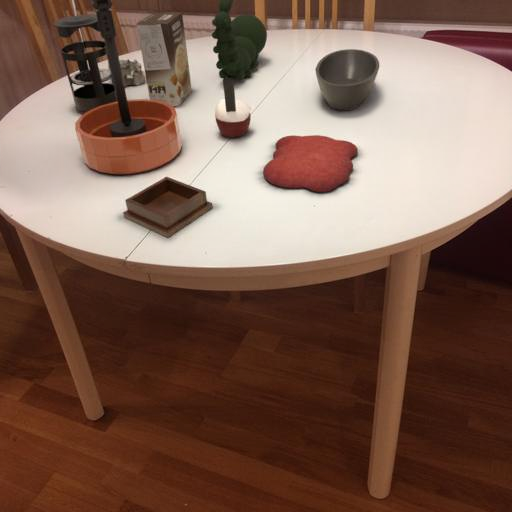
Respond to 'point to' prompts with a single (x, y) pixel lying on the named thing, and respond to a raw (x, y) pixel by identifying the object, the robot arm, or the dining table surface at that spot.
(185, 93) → the coffee box
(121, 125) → the black plunger
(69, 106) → the dining table surface
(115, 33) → the robot arm
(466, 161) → the dining table surface
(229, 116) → the cocoa
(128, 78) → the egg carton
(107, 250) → the dining table surface
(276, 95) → the dining table surface
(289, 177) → the patty
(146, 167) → the orange round dish
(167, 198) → the small square brown tray
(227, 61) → the green topiary foliage
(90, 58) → the french press
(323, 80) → the bowl
